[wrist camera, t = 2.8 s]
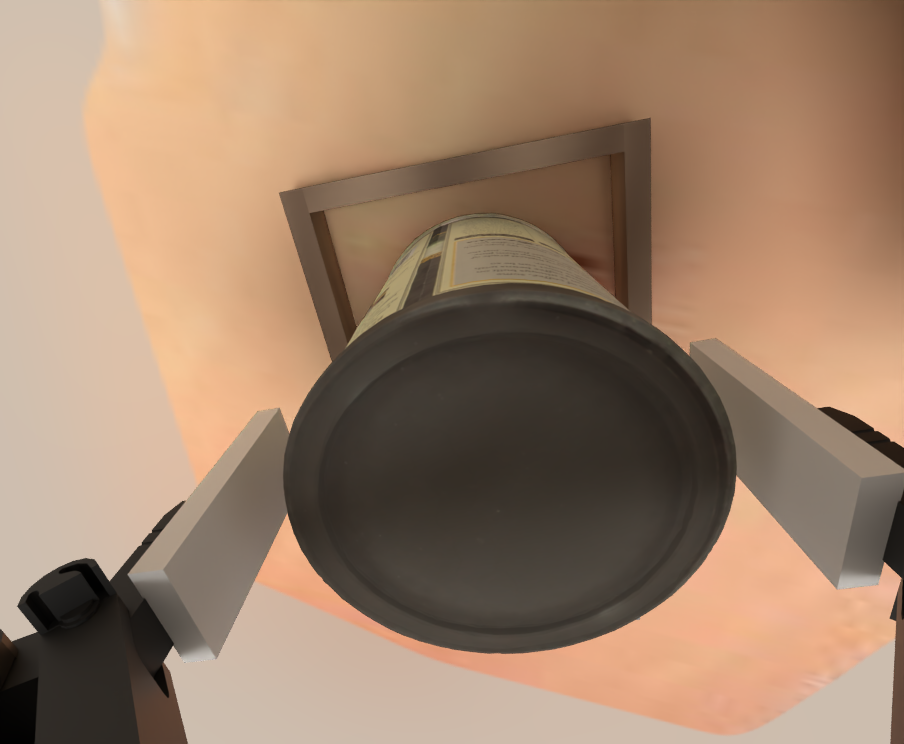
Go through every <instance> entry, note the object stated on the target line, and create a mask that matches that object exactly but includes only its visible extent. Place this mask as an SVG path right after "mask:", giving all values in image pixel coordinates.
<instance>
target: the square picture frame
mask: <svg viewBox="0 0 904 744" xmlns="http://www.w3.org/2000/svg"><path fill="white" fill-rule="evenodd" d="M605 155H610V159H611V186H612V212H613V239H614V265H615V292H616V299H617V300H618V301H619V302H620V303H622V304H623V305H624V306H625V307H626V308H627V309H628V310H629V311H630V312H632V313H634V314H636V315H638V316H640V317H641V318H643V319H644V320H646V321H647V322H648V323H650V324H651V325H652V311H651V118H648V119H643V120H638V121H633V122H628V123H623V124H618V125H613V126H608V127H603V128H598V129H593V130H588V131H583V132H578V133H573V134H568V135H563V136H558V137H553V138H548V139H543V140H538V141H533V142H528V143H523V144H518V145H513V146H508V147H503V148H498V149H493V150H488V151H483V152H478V153H474V154H469V155H464V156H459V157H454V158H449V159H444V160H439V161H434V162H429V163H424V164H419V165H414V166H409V167H404V168H399V169H394V170H389V171H384V172H379V173H374V174H369V175H364V176H359V177H354V178H349V179H344V180H339V181H334V182H329V183H324V184H319V185H314V186H309V187H304V188H299V189H295V190H290V191H285V192H280V193H279V195H280V198H281V201H282V204H283V207H284V211H285V214H286V217H287V220H288V223H289V226H290V230H291V233H292V236H293V239H294V242H295V246H296V249H297V252H298V255H299V258H300V261H301V265H302V268H303V271H304V274H305V277H306V280H307V284H308V287H309V290H310V293H311V296H312V300H313V303H314V306H315V309H316V312H317V315H318V319H319V322H320V325H321V328H322V331H323V334H324V338H325V341H326V344H327V347H328V350H329V353H330V357H331V360H332V362H333V361H334V360H335V358H336V357H337V356H338V355H339V354H340V353H341V352H342V351H343V350H344V349H345V348H346V346H347V345H348V343H349V341H350V340H351V338H352V336H353V334H354V333H355V331H356V325H355V322H354V318H353V315H352V311H351V308H350V304H349V300H348V297H347V293H346V290H345V286H344V283H343V279H342V276H341V272H340V269H339V265H338V262H337V258H336V254H335V251H334V247H333V244H332V240H331V237H330V233H329V230H328V226H327V223H326V219H325V215H324V212H323V210H328V209H333V208H338V207H343V206H348V205H353V204H359V203H364V202H369V201H374V200H379V199H384V198H389V197H394V196H400V195H405V194H410V193H415V192H420V191H425V190H430V189H435V188H441V187H446V186H451V185H456V184H461V183H466V182H471V181H476V180H482V179H487V178H492V177H497V176H502V175H507V174H512V173H517V172H523V171H528V170H533V169H538V168H543V167H548V166H553V165H558V164H564V163H569V162H574V161H579V160H584V159H589V158H594V157H599V156H605Z"/></svg>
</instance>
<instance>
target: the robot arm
mask: <svg viewBox="0 0 904 744" xmlns="http://www.w3.org/2000/svg"><path fill="white" fill-rule="evenodd" d="M690 357H691V358H692V359H693V360H694V361H695V362H696V363H697V364H698V366H699V367H700V368H701V369H702V371H703V372H704V374H705V375H706V376H707V378H708V379H709V381H710V382H711V384H712V385H713V387H714V388H715V390H716V391H717V393H718V395H719V397H720V399H721V401H722V403H723V405H724V408H725V410H726V412H727V415H728V418H729V421H730V424H731V428H732V432H733V437H734V442H735V447H736V461H737V472H736V475H737V476H738V477H739V479H740V480H741V481H742V482H743V483H744V484H745V485H746V487H747V488H748V489H749V490H750V491H751V492H752V493H753V495H754V496H755V497H756V498H757V499H758V500H759V501H760V502H761V504H762V505H763V506H764V507H765V508H766V509H767V510H768V512H769V513H770V514H771V515H772V516H773V517H774V518H775V519H776V521H777V522H778V523H779V524H780V525H781V526H782V527H783V529H784V530H785V531H786V532H787V533H788V534H789V535H790V537H791V538H792V539H793V540H794V541H795V542H796V543H797V544H798V546H799V547H800V548H801V549H802V550H803V551H804V552H805V554H806V555H807V556H808V557H809V558H810V559H811V560H812V562H813V563H814V564H815V565H816V566H817V567H818V568H819V569H820V571H821V572H822V573H823V574H824V575H825V576H826V577H827V579H828V580H829V581H830V582H831V583H832V584H833V585H834V587H835V588H836V589H846V588H855V587H864V586H872V585H878V583H879V579H880V576H881V572H882V568H883V564H884V562H885V563H886V564H887V565H888V566H890V567H891V568H892V569H893V570H894V571H895V572H896V573H897V574H898V575H899V576H900V577H901V578H902V579H901V582H900V585H899V589H898V592H897V596H896V599H895V602H894V606H893V609H892V612H891V616H890V619H892V620H895V621H896V639H895V661H894V681H893V703H892V722H891V723H892V724H891V744H904V448H903V447H902V446H900V445H899V444H897V443H895V442H891V441H890V439H889V438H888V437H886V436H885V435H883V434H882V433H880V432H878V431H874V428H872V427H871V426H869V425H868V424H866V423H865V422H863V421H862V420H860V419H858V418H857V417H855V416H853V415H850V414H848V413H845V412H842V411H840V410H837V409H834V408H831V407H823V408H816V407H814V406H813V405H811V404H810V403H809V402H807V401H806V400H804V399H803V398H801V397H800V396H798V395H797V394H796V393H794V392H793V391H791V390H790V389H788V388H787V387H785V386H784V385H783V384H781V383H780V382H778V381H777V380H775V379H774V378H773V377H771V376H770V375H768V374H767V373H765V372H764V371H762V370H761V369H760V368H758V367H757V366H755V365H754V364H752V363H751V362H749V361H748V360H747V359H745V358H744V357H742V356H741V355H739V354H738V353H737V352H735V351H734V350H732V349H731V348H729V347H728V346H726V345H725V344H724V343H722V342H721V341H719V340H718V339H716V338H715V339H708V340H702V341H696V342H690ZM288 437H289V431H288V429H287V426H286V423H285V421H284V418H283V416H282V413H281V410H280V408H276V409H269V410H263V411H257V413H256V414H255V415H254V416H253V418H252V419H251V420H250V421H249V423H248V424H247V425H246V426H245V428H244V429H243V430H242V431H241V433H240V434H239V435H238V436H237V438H236V439H235V440H234V441H233V443H232V444H231V445H230V446H229V448H228V449H227V450H226V451H225V453H224V454H223V455H222V456H221V458H220V459H219V460H218V461H217V463H216V464H215V465H214V467H213V468H212V469H211V470H210V472H209V473H208V474H207V475H206V477H205V478H204V479H203V480H202V482H201V483H200V484H199V485H198V487H197V488H196V489H195V490H194V492H193V493H192V494H191V495H190V497H189V498H188V499H187V500H186V501H182V502H181V503H180V504H178V505H177V506H175V507H174V508H173V509H172V510H170V511H169V512H168V513H167V514H165V515H164V516H163V518H162V519H161V520H160V521H159V522H158V524H157V525H156V526H155V527H154V528H153V530H152V533H150V534H149V535H148V536H147V537H146V538H145V539H144V540H143V542H142V545H141V546H139V547H138V548H137V549H136V550H135V551H134V553H133V554H132V555H131V556H130V557H129V559H128V560H127V561H126V562H125V563H124V565H123V566H122V567H121V568H120V570H119V571H118V572H117V573H116V574H115V576H114V577H113V578H112V579H111V580H110V582H109V580H108V579H107V578H106V576H105V574H104V573H103V571H102V570H101V568H100V567H99V565H98V564H97V562H96V561H95V560H94V559H87V558H85V559H80V560H76V561H72V562H70V563H67V564H65V565H63V566H61V567H58V568H57V569H55V570H53V571H52V572H50V573H48V574H47V575H45V576H43V578H41V579H40V580H39V581H37V582H36V583H35V584H33V585H32V586H31V587H30V588H29V589H28V590H27V592H26V593H25V594H24V595H23V596H22V597H21V599H20V602H19V604H18V606H17V607H18V608H19V609H20V610H21V612H22V613H23V614H24V615H25V617H26V618H27V619H28V620H29V622H30V623H31V624H32V625H33V626H34V628H35V629H36V630H37V631H38V632H36V633H34V634H31V635H28V636H26V637H23V638H20V639H17V640H15V641H12V642H11V641H10V639H9V638H8V637H7V636H6V635H5V634H4V632H3V631H2V630H1V629H0V744H188V742H187V739H186V734H185V730H184V726H183V722H182V718H181V714H180V710H179V706H178V702H177V698H176V694H175V690H174V687H173V682H172V678H171V674H170V671H169V670H168V668H167V667H166V665H165V664H164V660H165V658H166V657H167V655H168V653H169V651H170V650H171V648H172V646H174V647H175V649H176V650H177V652H178V654H179V655H180V657H181V658H182V660H183V661H184V663H186V662H195V661H204V660H213V659H217V657H218V655H219V653H220V651H221V649H222V646H223V645H224V642H225V640H226V638H227V636H228V634H229V632H230V630H231V628H232V626H233V624H234V622H235V619H236V618H237V616H238V614H239V611H240V609H241V607H242V605H243V603H244V601H245V599H246V597H247V595H248V593H249V591H250V589H251V587H252V585H253V583H254V581H255V578H256V576H257V574H258V572H259V570H260V568H261V566H262V564H263V562H264V560H265V558H266V556H267V554H268V552H269V550H270V547H271V545H272V543H273V541H274V539H275V537H276V535H277V533H278V531H279V529H280V527H281V525H282V523H283V521H284V519H285V516H286V514H287V508H286V503H285V496H284V487H283V466H284V454H285V450H286V445H287V441H288Z"/></svg>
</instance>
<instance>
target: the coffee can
mask: <svg viewBox="0 0 904 744" xmlns="http://www.w3.org/2000/svg"><path fill="white" fill-rule="evenodd" d="M736 472H737V461H736V447H735V442H734V437H733V432H732V428H731V424H730V421H729V418H728V415H727V412H726V410H725V408H724V405H723V403H722V401H721V399H720V397H719V395H718V393H717V391H716V390H715V388H714V387H713V385H712V384H711V382H710V381H709V379H708V378H707V376H706V375H705V374H704V372H703V371H702V369H701V368H700V367H699V366H698V364H697V363H696V362H695V361H694V360H693V359H692V358H691V357H690V356H689V355H688V354H687V353H686V352H685V351H683V350H682V349H681V348H680V347H679V346H678V345H677V344H676V343H675V342H674V341H673V340H672V339H670V338H669V337H668V336H667V335H665V334H664V333H663V332H661V331H660V330H659V329H657V328H656V327H654V326H653V325H651V324H650V323H648V322H647V321H646V320H644V319H643V318H641V317H640V316H638V315H636V314H634V313H632V312H630V311H629V310H628V309H627V308H626V307H625V306H624V305H623V304H622V303H620V302H619V301H618V300H617V299H616V298H615V297H614V296H613V295H612V294H610V293H609V292H608V291H607V290H606V289H605V288H604V287H603V286H601V285H600V284H599V283H598V282H597V281H596V280H595V279H594V278H593V277H592V276H591V275H589V274H588V273H587V272H586V271H585V270H584V269H583V268H582V267H581V266H580V265H579V264H577V263H576V262H575V261H574V260H573V259H572V258H571V257H570V256H569V255H568V254H567V253H566V251H565V250H564V249H563V248H562V247H561V246H560V245H559V244H558V243H557V242H556V241H555V240H554V239H553V238H552V237H551V236H550V235H548V234H547V233H545V232H544V231H542V230H541V229H539V228H538V227H536V226H534V225H532V224H530V223H528V222H526V221H523V220H520V219H517V218H514V217H510V216H505V215H500V214H496V213H488V214H471V215H465V216H459V217H456V218H453V219H450V220H447V221H444V222H442V223H440V224H438V225H436V226H434V227H432V228H430V229H429V230H427V231H426V232H424V233H423V234H422V235H420V236H419V237H418V238H416V239H415V240H414V241H413V242H412V243H411V244H410V245H409V246H408V247H407V248H406V250H405V251H404V252H403V253H402V255H401V256H400V258H399V259H398V260H397V262H396V263H395V265H394V267H393V269H392V271H391V273H390V275H389V277H388V280H387V281H386V283H385V284H384V286H383V288H382V290H381V291H380V293H379V295H378V296H377V298H376V300H375V301H374V303H373V305H372V306H371V307H370V309H369V310H368V312H367V314H366V315H365V317H364V318H363V320H362V321H361V322H360V324H359V326H358V327H357V329H356V331H355V333H354V334H353V336H352V338H351V340H350V341H349V343H348V345H347V346H346V348H345V349H344V350H343V351H342V352H341V353H340V354H339V355H338V356H337V357H336V358H335V360H334V361H333V362H332V363H331V364H330V365H329V367H328V368H327V369H326V370H325V371H324V373H323V374H322V375H321V376H320V378H319V379H318V380H317V382H316V383H315V385H314V386H313V388H312V389H311V390H310V392H309V393H308V395H307V397H306V399H305V400H304V402H303V404H302V406H301V407H300V409H299V411H298V413H297V415H296V417H295V419H294V422H293V425H292V428H291V431H290V434H289V437H288V441H287V445H286V450H285V454H284V466H283V487H284V496H285V503H286V508H287V512H288V517H289V520H290V523H291V526H292V529H293V532H294V535H295V537H296V539H297V541H298V543H299V546H300V548H301V550H302V552H303V553H304V555H305V556H306V558H307V559H308V561H309V563H310V564H311V566H312V567H313V568H314V570H315V571H316V572H317V574H318V575H319V576H320V577H322V579H323V581H324V582H325V583H326V584H328V585H329V586H330V587H331V588H332V589H333V590H334V591H335V592H336V593H337V594H338V595H339V596H340V597H341V598H342V599H343V600H345V601H346V602H348V603H349V604H350V605H352V606H353V607H354V608H356V609H357V610H358V611H360V612H361V613H363V614H364V615H366V616H367V617H369V618H371V619H372V620H374V621H376V622H378V623H379V624H381V625H383V626H385V627H387V628H388V629H390V630H393V631H395V632H397V633H399V634H401V635H404V636H407V637H410V638H413V639H415V640H418V641H421V642H425V643H428V644H432V645H436V646H440V647H444V648H449V649H454V650H461V651H469V652H478V653H488V654H490V653H502V654H513V653H529V652H538V651H545V650H552V649H557V648H562V647H566V646H570V645H574V644H577V643H581V642H584V641H587V640H590V639H593V638H596V637H599V636H602V635H604V634H607V633H609V632H612V631H615V630H617V629H619V628H621V627H623V626H625V625H627V624H628V623H630V622H632V621H634V620H636V619H638V618H640V617H641V616H643V615H644V614H646V613H647V612H649V611H651V610H652V609H654V608H655V607H657V606H658V605H660V604H661V603H662V602H664V601H665V600H666V599H668V598H669V597H670V596H672V595H673V594H674V593H675V592H676V591H677V590H678V589H679V588H680V587H681V586H683V585H684V584H685V583H686V582H687V580H688V579H689V578H690V577H691V576H692V575H693V574H694V573H695V572H696V571H697V569H698V568H699V567H700V566H701V565H702V563H703V562H704V560H705V559H706V557H707V555H708V554H709V552H710V551H711V550H712V548H713V546H714V545H715V543H716V542H717V540H718V538H719V536H720V534H721V532H722V530H723V528H724V525H725V522H726V520H727V517H728V515H729V512H730V508H731V504H732V500H733V496H734V493H735V482H736Z"/></svg>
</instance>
